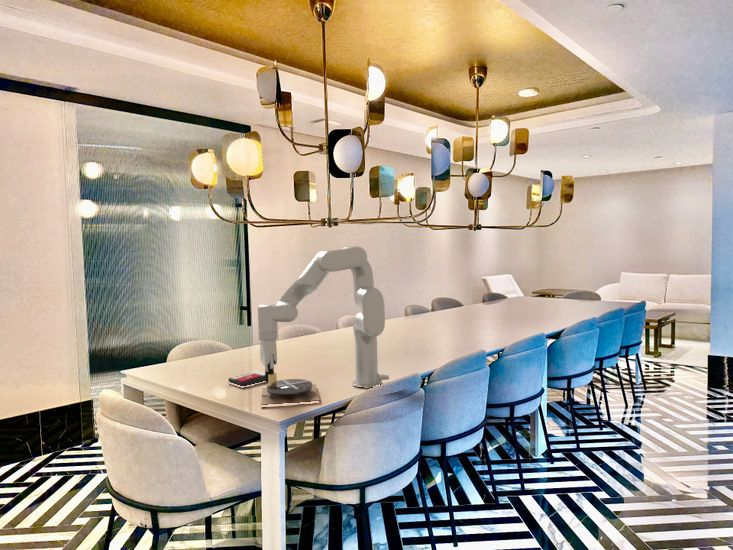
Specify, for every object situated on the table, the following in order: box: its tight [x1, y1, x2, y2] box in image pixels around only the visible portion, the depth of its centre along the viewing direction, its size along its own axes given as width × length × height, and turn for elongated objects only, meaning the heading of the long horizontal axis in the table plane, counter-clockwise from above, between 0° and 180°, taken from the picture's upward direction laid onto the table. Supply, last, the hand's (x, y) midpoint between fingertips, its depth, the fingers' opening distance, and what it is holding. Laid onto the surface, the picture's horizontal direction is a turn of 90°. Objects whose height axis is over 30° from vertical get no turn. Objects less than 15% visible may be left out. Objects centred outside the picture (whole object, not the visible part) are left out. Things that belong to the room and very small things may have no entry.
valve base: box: [260, 383, 321, 406], centre depth 202 cm, size 22×22×2 cm
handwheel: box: [266, 372, 313, 396], centre depth 202 cm, size 18×18×9 cm
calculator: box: [228, 369, 265, 386], centre depth 226 cm, size 11×4×15 cm
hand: (269, 381), depth 202 cm, fingers closed
